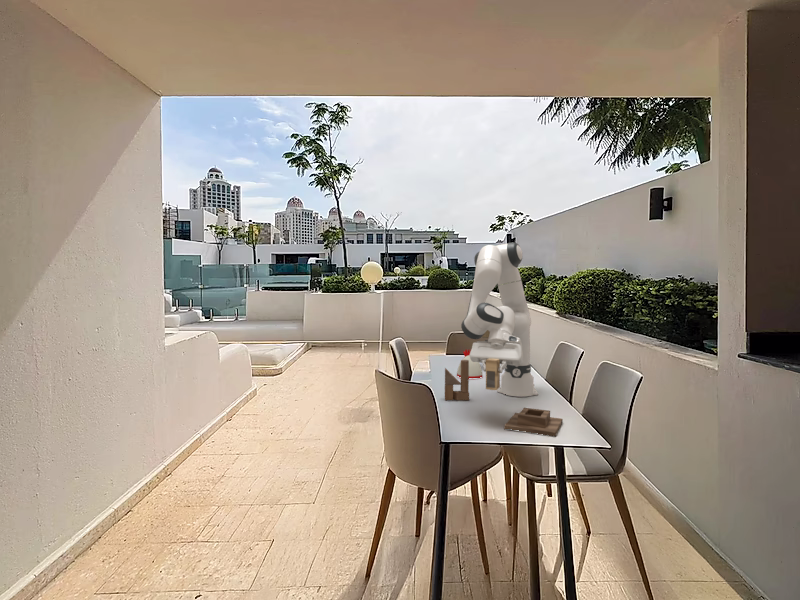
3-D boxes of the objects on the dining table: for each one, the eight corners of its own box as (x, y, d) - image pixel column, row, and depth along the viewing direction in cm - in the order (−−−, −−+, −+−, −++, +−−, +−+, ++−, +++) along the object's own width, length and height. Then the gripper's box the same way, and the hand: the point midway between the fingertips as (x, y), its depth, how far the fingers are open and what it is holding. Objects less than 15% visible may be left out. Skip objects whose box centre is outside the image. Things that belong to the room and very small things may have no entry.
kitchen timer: (466, 373, 279) (467, 346, 278) (487, 376, 269) (487, 349, 268) (451, 376, 269) (452, 349, 268) (472, 380, 259) (472, 352, 258)
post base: (515, 416, 195) (515, 404, 195) (562, 422, 187) (562, 409, 187) (504, 429, 179) (504, 416, 179) (555, 436, 171) (555, 422, 171)
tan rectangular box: (489, 386, 188) (489, 358, 187) (499, 387, 186) (499, 358, 185) (485, 389, 183) (485, 360, 182) (496, 390, 181) (496, 361, 180)
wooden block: (444, 398, 222) (444, 359, 221) (468, 398, 222) (468, 359, 221) (445, 400, 219) (445, 360, 218) (469, 400, 219) (469, 360, 218)
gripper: (472, 335, 194) (464, 364, 186) (524, 338, 185) (518, 368, 177) (475, 345, 198) (467, 373, 190) (526, 348, 189) (520, 378, 181)
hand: (492, 371), depth 184 cm, fingers closed on tan rectangular box, 4 cm apart
